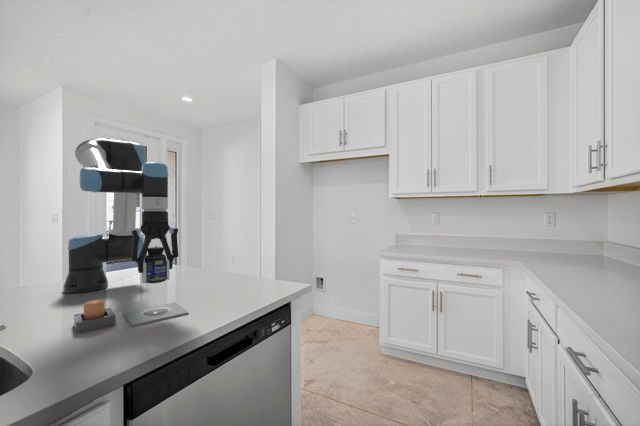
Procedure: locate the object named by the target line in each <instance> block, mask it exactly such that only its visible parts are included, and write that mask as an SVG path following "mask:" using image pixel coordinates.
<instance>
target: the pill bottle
mask: <svg viewBox="0 0 640 426" xmlns="http://www.w3.org/2000/svg"><path fill="white" fill-rule="evenodd" d="M164 252H165V251H164V248H163V246H162V247H160V246H159V247H158V246H157V247H154V246H153V247H148V250H147V254H146V256H145V259H144V262H146V283H145V284H159V283H164V282H165V281H167V280H166V259H167V257H166V254H165V253H164Z"/></svg>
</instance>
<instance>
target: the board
mask: <svg viewBox="0 0 640 426" xmlns="http://www.w3.org/2000/svg"><path fill="white" fill-rule="evenodd" d="M122 315H123V316H124V318H125V319H126V321H127V322H128V323H129V325H130V326H131V327H137V326H143V325H146V324H151V323H155V322H159V321H163V320H169V319H172V318H177V317H182V316H185V315H189V311H188V310H186V309H185V308H184V307H182V306H181V305H180V304H179V303H177V302H175V301H174V302H170V303H169V302H168V303H163V304H160V305H158V304H157V305H154V306H149V307H143V308H139V309H134V310H129V311H124V312H122Z"/></svg>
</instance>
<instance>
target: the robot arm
mask: <svg viewBox="0 0 640 426" xmlns="http://www.w3.org/2000/svg"><path fill="white" fill-rule="evenodd" d="M74 152H75V158H76V160H77V162H79V164H80V165H82V168H80V171H79V186H80V187H79V188H80V189H81V191H83V192H91V193H113V215H112V216H113V219H112V221H113V223H112V225H113V226H112V229H110V230H109V231H108V235H106V236H105V235H103V233H101V232H97V233H88V234H83V235H78V236H77V235H76V236H73V237H71V238H70V239H69V240H68V246H67V247H68V248H67V250H68V272H67V273H68V274H67V276H66V279H65V281H64V284H63V287H62V289H63V291H62V292H63V293H65V294H81V293H82V294H83V293H91V292H95V291H99V290H102V289H105V288H107V287H108V286H109V281H108V278H107V275H106V274H105V271H104V263H113V262H123V261H125V262H126V261H132V262H136V263H137V272H138V273H139V274H141V283H142V284H147V283H146V262H145V257H146V256H147V254H148V252H147V250H148V248H150V247H149V246H150V245H151V244H150V243H151V242H152V240H155V239H158V240H159V241H160V243H161V246H162V247H163V248H164V251H163V252H164V255H165V256H166V280H165V281H169V280H170V270H172V269H173V261H174V259H176V258H178V257H179V245H178V233H179V229H178V228H177V227H170V225H169V212H168V211H167V210H168V209H169V198H168V197H169V171H168V165H167V164H165V163H161V162H149V161H148V162H147V157H146V151H145V149H144V146H143V145H142V144H140V143H137V142H133V141H127V140H126V141H125V140H117V139H110V138H109V139H108V138H103V137H102V138H101V137H98V138H91V139H90V138H89V139H86V140H84V141H82V142H81V143H79V144H78V146H77V147H76V148H75V151H74ZM137 194H141V210H143V211H141V226H140V227H139V228H137V227H136V224H137V221H136V220H137ZM141 232H142V234H143V235H144V238H143V235H142V234H141ZM168 232H169V234H170V239H171V240H170V241H171V243H170V244H171V248H170V246H169V244H168V240H167V236H166V234H167V233H168Z"/></svg>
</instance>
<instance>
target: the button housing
mask: <svg viewBox="0 0 640 426" xmlns="http://www.w3.org/2000/svg"><path fill="white" fill-rule="evenodd" d="M73 326H75V327H74V331H75V334H76V335H78V334H77V333H79V334H83V333H87V332H86V331H88V332H92V331H91V330H93V331H96V329H97V330H101V329H100V328H102V329H106V328H110V327H114V326H116V315H115V313H114V311H113V310H112V308H111V307H107V308H105V316H102V317H97V318H92V319H87V320H84V312H81V313H75V314H74V315H73ZM82 332H83V333H82Z"/></svg>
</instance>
